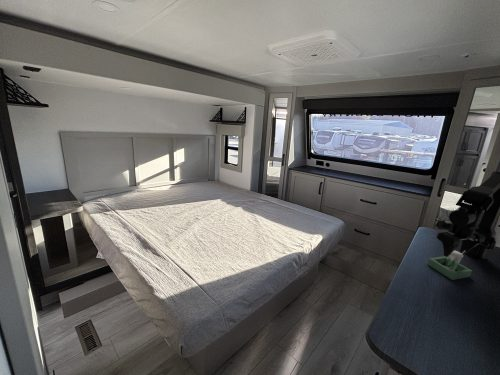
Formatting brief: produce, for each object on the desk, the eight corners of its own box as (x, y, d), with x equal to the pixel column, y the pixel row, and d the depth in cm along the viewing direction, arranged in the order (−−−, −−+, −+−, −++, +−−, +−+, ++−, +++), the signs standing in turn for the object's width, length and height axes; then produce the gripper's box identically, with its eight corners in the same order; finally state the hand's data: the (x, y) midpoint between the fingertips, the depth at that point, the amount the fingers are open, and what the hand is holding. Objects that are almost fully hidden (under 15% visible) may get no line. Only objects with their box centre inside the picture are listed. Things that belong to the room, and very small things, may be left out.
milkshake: (461, 274, 91) (470, 253, 88) (447, 273, 92) (456, 252, 89) (452, 267, 96) (460, 247, 93) (439, 266, 96) (447, 246, 93)
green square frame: (443, 261, 99) (445, 256, 99) (469, 276, 90) (472, 270, 89) (427, 264, 97) (429, 258, 96) (452, 279, 88) (454, 273, 87)
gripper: (460, 211, 96) (448, 242, 101) (429, 213, 91) (417, 246, 96) (493, 223, 86) (477, 257, 91) (459, 226, 81) (445, 262, 86)
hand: (453, 255), depth 91 cm, fingers open, 9 cm apart
